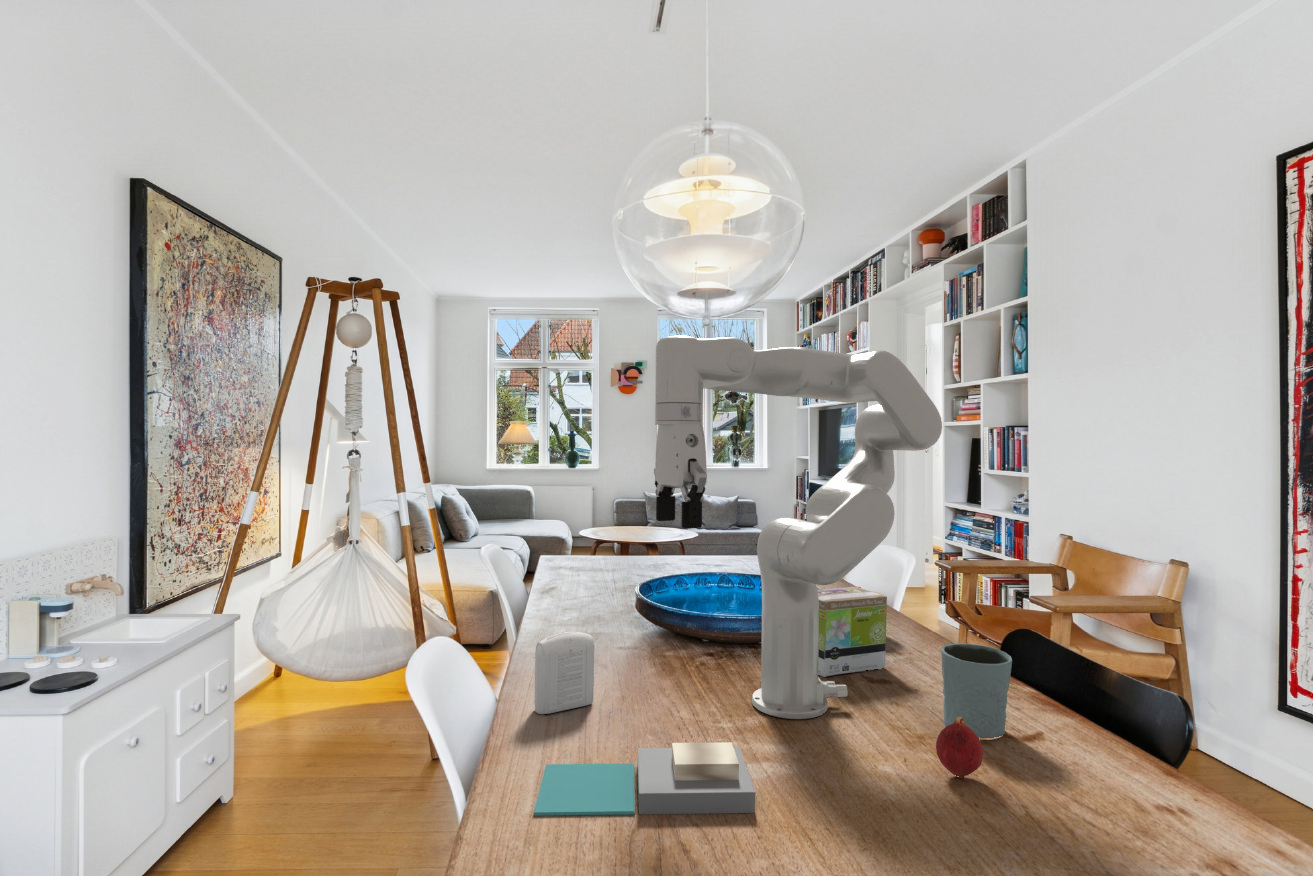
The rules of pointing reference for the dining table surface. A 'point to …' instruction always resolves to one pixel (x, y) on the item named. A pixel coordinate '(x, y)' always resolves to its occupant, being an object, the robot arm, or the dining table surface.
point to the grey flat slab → (689, 788)
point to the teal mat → (586, 790)
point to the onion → (959, 748)
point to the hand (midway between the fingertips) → (678, 524)
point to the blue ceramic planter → (976, 687)
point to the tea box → (851, 630)
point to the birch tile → (705, 761)
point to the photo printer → (564, 672)
